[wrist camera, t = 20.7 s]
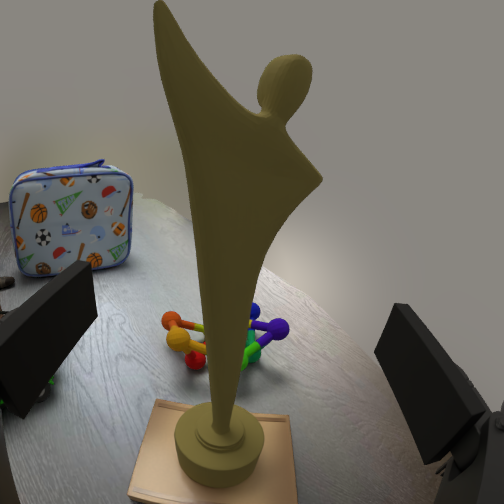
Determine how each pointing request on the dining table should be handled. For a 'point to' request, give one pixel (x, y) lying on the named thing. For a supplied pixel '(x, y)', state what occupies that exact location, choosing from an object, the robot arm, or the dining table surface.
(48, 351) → the robot arm
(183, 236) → the dining table surface
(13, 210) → the lunch box
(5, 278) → the knife
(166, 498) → the serving board
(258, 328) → the decorative model
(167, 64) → the sculpture
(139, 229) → the dining table surface
